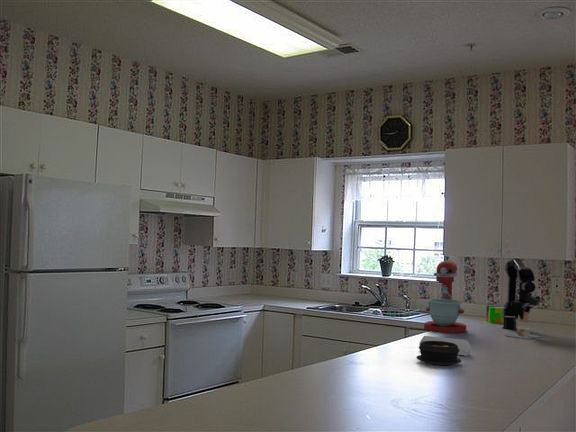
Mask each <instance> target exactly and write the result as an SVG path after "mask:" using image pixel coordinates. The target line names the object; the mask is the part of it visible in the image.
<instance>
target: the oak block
mask: <svg viewBox="0 0 576 432" xmlns="http://www.w3.org/2000/svg"><path fill="white" fill-rule="evenodd" d="M516 328H517V329H516V330H517V331H516V333H517V336H524V337H527V336H530V335H531V328H527V327H516Z"/></svg>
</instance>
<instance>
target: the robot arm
mask: <svg viewBox="0 0 576 432" xmlns="http://www.w3.org/2000/svg"><path fill="white" fill-rule="evenodd" d="M504 270H505V274H506V276H507V295H506V296H507V298H506V299H507V300H506V302H505V303H504V305H503V307H504V308H503V311H502V318H504V324H503V326H502V329H505V330H506V329H507V330H517V328H518V327H517V320H518V319H519V320H520V319H523V315H524V312H529V313H530V311H531V309H533V308H535V306H539V305H540V304H541V303H542V299H541V298H542V297H541V296H538V295H537V296H534V295H533V292H534V291H535V290H536V284H535V283H534V281H535V275H534V272H533V270H532V269H531V267H527V266H526V265H525V264H524V262H523V261H522V259H521V258H512V259H511V260H508V261H507V262H506V263H505V265H504ZM517 279H518V292H517ZM516 292H517V293H516ZM516 294H517V295H518V299H517V300H516V297H517V296H516ZM505 316H506V317H505Z"/></svg>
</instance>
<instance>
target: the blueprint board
mask: <svg viewBox="0 0 576 432" xmlns="http://www.w3.org/2000/svg"><path fill="white" fill-rule="evenodd" d="M504 336H505V337H508V336H509V337H510V338H515V339H517V338H518V339H524V340H534V339H535V340H536V339H538V338H539V339H540V338H543V335H536V334H530V336H527V337H524V336H517V332H515V333H510V334H504ZM509 337H508V338H509Z"/></svg>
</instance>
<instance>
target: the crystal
mask: <svg viewBox="0 0 576 432" xmlns="http://www.w3.org/2000/svg"><path fill="white" fill-rule="evenodd" d="M424 341H444V342H450V343H454V344H456V345H457V346H458V349H459V350H460V351H459V352H458V356H460V355H464V356H463V357H467V356H468V355H470V354H471V353H472V347H471V345H470V343H469V341H468V339H460V338H452V337H451V338H450V337H441V336H432V335H423V337H422V338H421V340H420V342H419V343H418V344H419V346H420V344H421V342H424Z"/></svg>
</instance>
